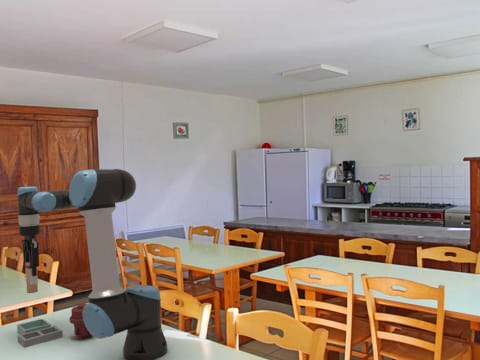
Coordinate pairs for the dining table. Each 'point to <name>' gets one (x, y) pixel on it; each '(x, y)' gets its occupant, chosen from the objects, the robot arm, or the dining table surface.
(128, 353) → the robot arm
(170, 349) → the dining table surface
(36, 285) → the fuse
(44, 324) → the parts tray
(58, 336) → the socket block
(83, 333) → the mechanical component
